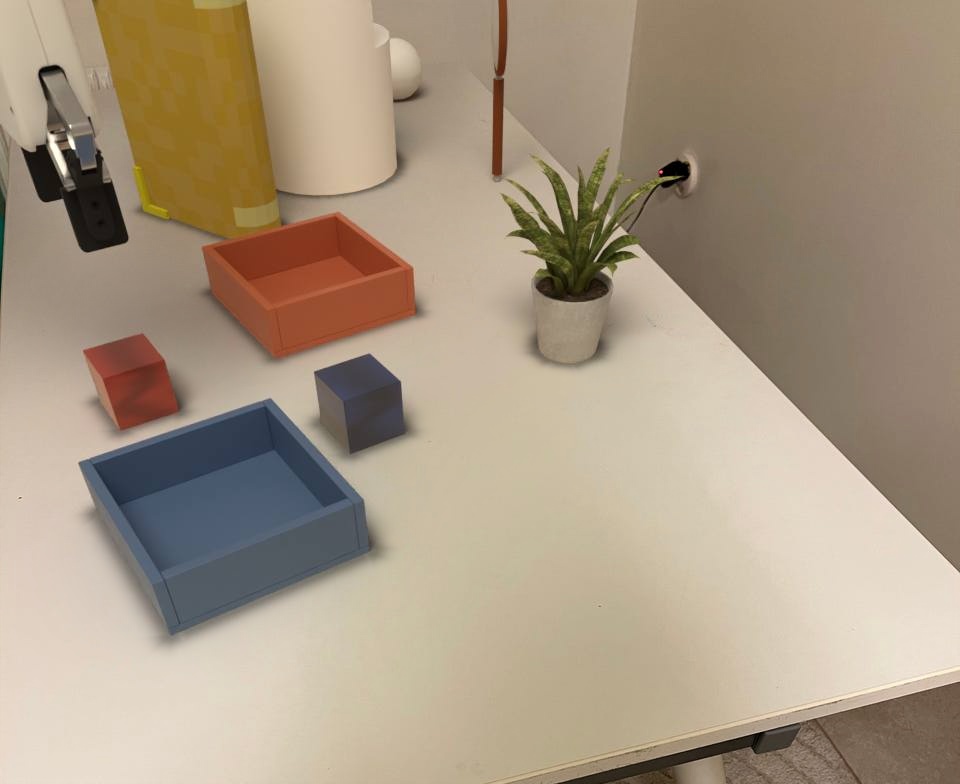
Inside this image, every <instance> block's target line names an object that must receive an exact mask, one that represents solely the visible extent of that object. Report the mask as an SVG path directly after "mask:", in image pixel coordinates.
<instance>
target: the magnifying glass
mask: <svg viewBox="0 0 960 784" xmlns="http://www.w3.org/2000/svg"><path fill="white" fill-rule="evenodd" d="M490 19H491V20H490V28H491V29H490V39H491V51H492V59H493V70H494V74H495V77H493V79H492V81H493V83H492V143H491V144H492V145H491V146H492V148H491V151H492V154H491V175H493V181H494V182H495V183H498V182H500V181H501V175H502V174H503V147H504V145H503V142H504V107H505V106H504V104H505V103H504V102H505V101H504V99H505V98H504V97H505V78H504V77H503V76H504V75H505V72H506V65H507V56H508V47H509V7H508V0H492V5H491V18H490Z"/></svg>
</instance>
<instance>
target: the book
mask: <svg viewBox="0 0 960 784" xmlns="http://www.w3.org/2000/svg"><path fill="white" fill-rule="evenodd" d="M91 1H92V5H93V9H94V13H95V17H96V20H97V24H98V28H99V32H100V36H101V39H102V44H103V47H104V50H105V55H106V59H107V62H108V66H109V70H110V74H111V79H112V82H113V86H114V90H115V93H116V97H117V101H118V105H119V109H120V113H121V116H122V121H123V124H124V128H125V131H126V135H127V139H128V144H129V147H130V151H131V154H132V159H133V162H134V163H133V164H134V166H132V167H131V168H132V172H133V176H134V180H135V184H136V188H137V191H138V195H139V199H140V202H141V208H142V211H143V212H144V213H148V214H151V215H153V216H156V217H159V218H162V219H165V220H169V219H172V220H174V221H179V222H181V223H183V224H186V225H188V226H192V227H195V228H197V229H199V230H203V231H205V232H209V233H211V234H214V235H217V236H220V237H223V238H225V239H227V240H230V239H234V238H238V237H242V236H245V235H249V234H253V233H257V232H261V231H265V230H269V229H273V228H277V227H280V226H282V221H281V214H280V208H279V201H278V200H279V199H278V194H277V189H276V187H275V181H274V174H273V168H272V161H271V155H270V148H269V142H268V135H267V129H266V123H265V116H264V110H263V103H262V97H261V90H260V84H259V77H258V71H257V65H256V58H255V52H254V45H253V39H252V32H251V26H250V19H249V13H248V7H247V0H91Z"/></svg>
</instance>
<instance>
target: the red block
mask: <svg viewBox="0 0 960 784" xmlns="http://www.w3.org/2000/svg"><path fill="white" fill-rule="evenodd" d="M82 354H83V356H84V359H85V363H86V365H87V367H88V368H87V369H88V370H89V373H90V376H91V379H92V382H93V385H94V388H95V391H96V393H97V396H98V399H99V401H100V404H101V406H102V407H103V408H104V409H105V411H106V413H107V414H108V416H109V417H110V418H111V420H112V421H113V422H114V424H115V426H116V427H117V428H118V430H119V432H122V431H125V430H128V429H131V428H134V427H137V426H140V425H143V424H146V423H150V422H153V421H155V420H159V419H161V418H164V417H167V416H171V415H174V414H177V413H179V412H180V409H179V406H178V401H177V399H176V396H175V392H174V388H173V384H172V381H171V377H170V374H169V370H168V366H167V363H166V360H165V358H164V357H163V356H162V354H161V353H160V352H159V351H158V350H157V348H155V346H154V345H153V344H152V342H151V341H150V339H148V338H147V336H146V335H145V334H144V333H143V332H142V333H137V334H134V335H131V336H127V337H124V338H120V339H117V340H113V341H111V342H110V341H109V342H107V343H106V342H105V343H103V344H100V345H99V344H98V345H96V346H92V347H89V348H86V349H82Z"/></svg>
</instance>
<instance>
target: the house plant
mask: <svg viewBox="0 0 960 784" xmlns="http://www.w3.org/2000/svg"><path fill="white" fill-rule="evenodd" d="M528 154H529V156H530V157H531V158H532V159H533V160H534V161H535V162H536V163H537V164H538V165H539V166H540V167H541V169H542V170H541V173H543V175H544V176H546V177H547V179H548V181H549V182H550V184H551V188H552V190H553V193H554V197H555V201H556V206H557V210H558V214H559V216H560V221H561V226H562V230H561V228H560V227H559V226H558V225H557V224H556V223H555V221H554V220H553V219H551V218H550V217H549V215H548V213H547V212H546V211H545V209H544V207H543V206H542V204H541V203H540V202H539V201H538V200H537V199H536V197H535V196H534V195H533V194H532V193H531V192H530V191H529V190H527V188H525V187H523V186H522V185H521V184H519V183H518V182H516V181H514V180H513V179H509V178H505V177H502V179H503V180H504V181H506V182H508V183H510V184H512V185H513V186H514V187H515V188H516V189H517V190H519V191H520V192H521V193H522V194H523V195H524V196H525V197H526V199H527V200H528V201H529V202H530V203H531V205H532V206H533V208H534V209H535V210H536V212H534V211H529V212H528V211H526V210H525V209H524V208H523V207H522V206H521V205H520V204H519V203H518V202H517V201H516V200H515V199H514V198H512V197H510V196H508V195H506V194H505V193H503V192H502V193H501V192H499V194H500V195H501V197H502V200H503V201H504V203H506V205H507V206H508V207H509V208H510V210H511V211H510V212H511V214H512V217H513V218H514V220H515V222H516V223H517V225H518V226H519V227H520V228H521V229H516V230H513V231H510V233H508V234H507V235H506V236H505V238H508V237H516V238H520V239H524V240H525V239H526V240H527V241H530V242H531V244H533V245H534V246H535V248H536V249H537V250H534V249H525V250H523V249H522V250H520V253H523V254H525V255H530V256H535V257H537V258H538V259H541V260H543V261H544V262H545V266H546V268H538V269H537V271H536V272H535V274H534V275H533V277H532V278H531V290H532V291H531V292H532V301H533V310H534V319H535V328H536V336H537V346H538V350H539V353H541V355H542V356H544V357H545V358H547V359H549V360H551V361H554V362H556V363H557V362H558V363H562V364H563V363H565V364H574V363H575V364H576V363H581V362H583V361H585V360H588V359H591V358H592V357H593V356H594V355H595V354H596V352H597V347H598V346H599V345H598V344H599V341H600V338H601V335H602V331H603V327H604V324H605V320H606V317H607V312H608V309H609V306H610V303H611V298H612V296H613V292H614V287H615V285H614V282H613V277H614V273H615V272H616V270H617V269H618V264H617V263H620V262H624V261H628V260H633V259H640V257H639V256H638V255H636V254H635V253H633V252H632V251H628V250H621V249H623V248H626V247H630V246H634V245H639V244H641V245H644V242H642V241H641V240H640V239H639V238H638V237H636V236H634V235H632V234H624V235H623V234H622V235H620V236H618V237H617V238H615V239H613V240H612V241H611V242H610V243H609V244H608V245H607V246H606V247H605V248H604V246H605V244H606V243H607V242H608V241H609V239H610V238H611V236H612V235H613V234H614V233H615V232H616V231H617V230H618V229H619V228H620V227H621V226H622V225H623V224H624V223H625V222H627V220H628V219H630V217H631V216H632V215H633V214H635V213H636V212H637V211H638V210H640V209H641V208H643V207H644V206H646V205H647V204H648V202H646V203H644V204H643V205H641V206H639V207H637V208H636V209H634V210H632V211H631V212H630V213H629V214H628V215H627V216H626V217H625V218H624V219H622V220H621V221H620V219H621V218H622V217H623V215H624V214H625V213H626V212H627V210H629V208H630V207H631V206H632V205H633V204H634V203H635V202H636V201H637V200H638V199H639V198H641V197H642V196H643V195H644V194H646V193H647V192H649V191H650V190H652V189H653V188H655V187H656V186H657V185H660V184H662V183H664V182H669V181H672V180H676V179H679V178H682V177H686V176H684V175H670V176H662V177H658V178H653V179H651V180H649V181H647V182H645V183H643V184H642V185H640V186H639V187H638V188H636V189H635V190H634V191H633V192H632V193H630V194H629V195H628V196H627V197H626V198H625V199H624V201H623V202H622V203H621V204H620V206H619V207H618V209H617V210H616V212H615V213H614V214H613V216H611V218H610V219H609V220H608V222H607V223H606V225H604V224H605V221H606V219H607V215H608V213H609V209H610V207H611V205H612V203H613V200H614V198H615V195H616V193H617V192H618V189H619V186H620V185H622V184H623V183H627V182H634V181H636V179H634V178H626V179H622V178H623V177H624V175H625V172H622V173H620V174H618V175H617V176H616V177H615V178H614V179H613V181H612V182H611V184H610V186H609V188H608V190H607V192H606V195H605V197H604V200H603V201H602V203H601V204H599V205H598V206H597V207H595V203H596V199H597V195H598V192H599V189H600V186H601V183H602V180H603V177H604V175H605V173H606V170H607V165H608V164H607V162H608V158H609V155H610V154H611V147H608V148H606V149H605V150H604V151H603V152H602V153H601V155H600V156H599V158H598V159H597V160H596V162H595V164H594V166H593V169H592V171H591V173H590V176H589V178H588V181H587V183H585V177H584V174H583V171H582V169H581V167H580V166H579V165H578V164H575V165H577V173H578V186H577V187H578V188H577V215H576V216H575V212H574V209H573V204H572V201H571V198H570V195H569V191H568V189H567V186H566V184H565V182H564V181H563V179H562V177H561V174H559V173H558V172H557V171H556V170H555V169H554V168H553V167H551V166H550V165H548V164H547V163H546V162H545V161H543V160H542V159H540V158H539V157H537V156H536V155H535V156H534V155H533V154H531V153H528ZM594 207H595V209H594ZM531 214H536V215H537V216H538V219H539V220H540V222H541V223H542V224H543V225H544V226H545V228H546V229H547V230H545V229H544V228H541V226H540V223H539V222H538V220H537V219H536V218H535V217H534V216H532V215H531ZM619 221H620V222H619ZM618 222H619V223H618ZM617 223H618V224H617ZM616 224H617V225H616ZM604 226H605V227H604ZM644 247H645V248H646V250H648V249H647V247H646V245H644ZM603 248H604V249H603ZM600 252H601V253H600ZM605 268H607V269H608V270H609V271H610V273H611V277H610V276H609V275H608V274H606V273H604V272H603V271H602V270H604V269H605ZM611 278H612V279H611Z"/></svg>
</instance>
